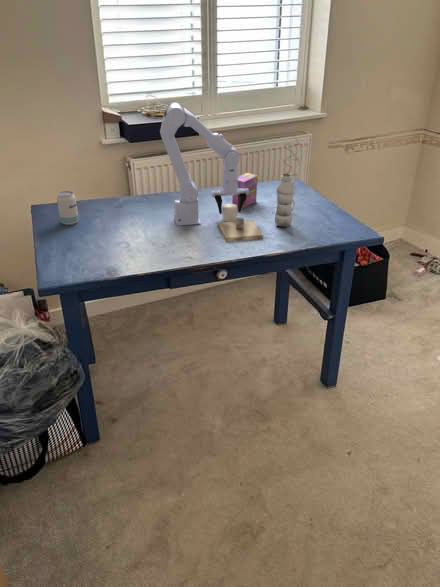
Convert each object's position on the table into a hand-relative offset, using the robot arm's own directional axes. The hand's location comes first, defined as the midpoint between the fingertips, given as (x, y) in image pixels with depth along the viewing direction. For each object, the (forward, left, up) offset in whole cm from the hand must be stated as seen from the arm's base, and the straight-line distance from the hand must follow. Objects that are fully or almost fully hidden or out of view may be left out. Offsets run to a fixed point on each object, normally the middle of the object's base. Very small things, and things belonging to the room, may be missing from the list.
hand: (229, 212), depth 200 cm
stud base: (+1, -13, -3) cm, 13 cm away
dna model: (+25, +3, -3) cm, 25 cm away
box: (+10, +15, -3) cm, 18 cm away
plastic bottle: (+19, -10, -3) cm, 22 cm away
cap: (0, 0, -3) cm, 3 cm away
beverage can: (-62, +8, -3) cm, 63 cm away
